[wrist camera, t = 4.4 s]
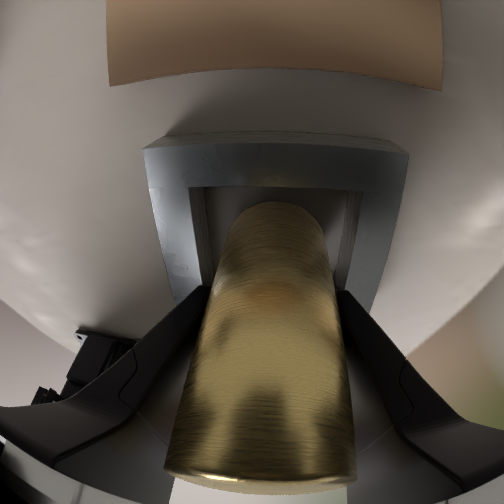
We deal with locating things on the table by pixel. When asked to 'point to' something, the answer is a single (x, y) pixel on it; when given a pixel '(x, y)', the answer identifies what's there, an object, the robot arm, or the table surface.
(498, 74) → the table surface
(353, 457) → the cylinder
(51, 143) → the table surface
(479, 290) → the table surface
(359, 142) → the eye collar
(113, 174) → the table surface
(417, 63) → the board
